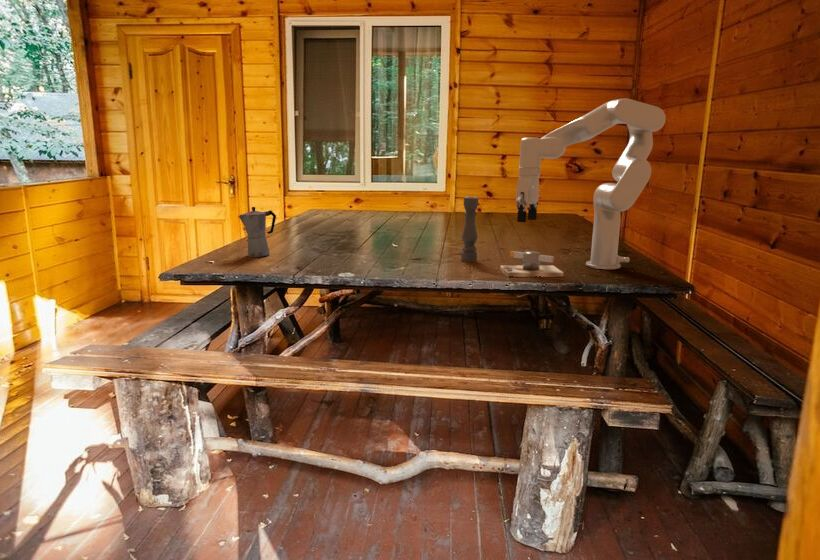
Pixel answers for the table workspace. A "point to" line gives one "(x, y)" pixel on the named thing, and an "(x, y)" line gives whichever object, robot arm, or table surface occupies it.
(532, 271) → the stand
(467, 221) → the candle holder
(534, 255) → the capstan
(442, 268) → the table surface
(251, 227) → the moka pot
